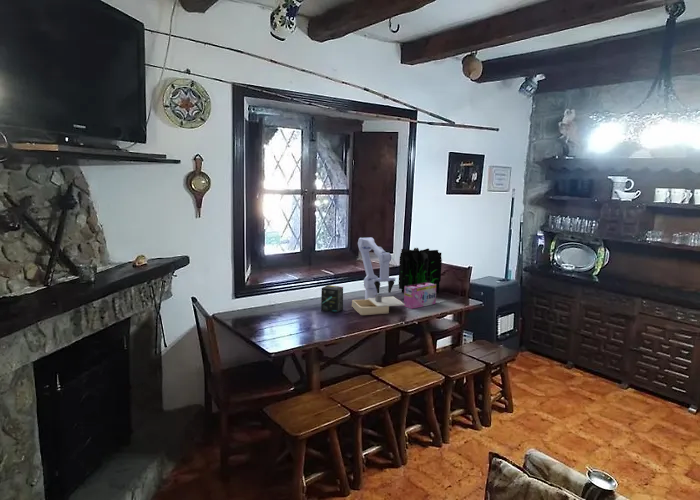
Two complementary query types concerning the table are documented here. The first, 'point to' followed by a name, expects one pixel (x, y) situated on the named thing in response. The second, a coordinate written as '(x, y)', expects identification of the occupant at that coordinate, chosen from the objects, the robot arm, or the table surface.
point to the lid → (385, 301)
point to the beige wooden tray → (368, 307)
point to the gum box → (419, 295)
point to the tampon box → (332, 298)
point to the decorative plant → (419, 267)
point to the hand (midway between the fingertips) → (383, 292)
